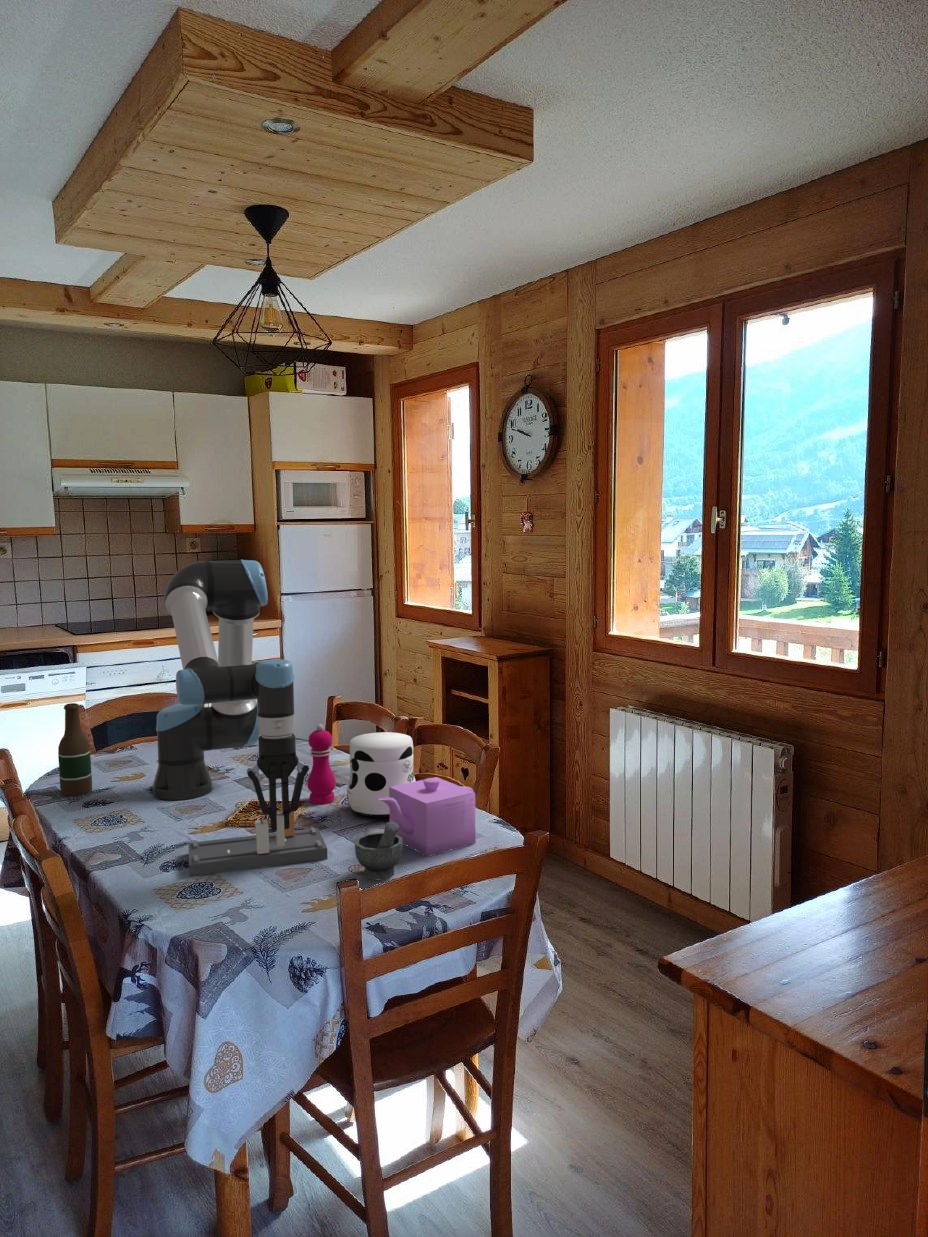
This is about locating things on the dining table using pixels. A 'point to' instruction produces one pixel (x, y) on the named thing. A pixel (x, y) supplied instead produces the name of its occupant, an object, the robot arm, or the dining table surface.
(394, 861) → the mortar and pestle
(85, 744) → the beer bottle
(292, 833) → the orange fader
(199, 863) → the console
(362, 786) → the cow-print canister
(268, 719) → the robot arm
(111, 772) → the dining table surface
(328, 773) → the pepper mill
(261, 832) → the block
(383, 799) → the teapot
